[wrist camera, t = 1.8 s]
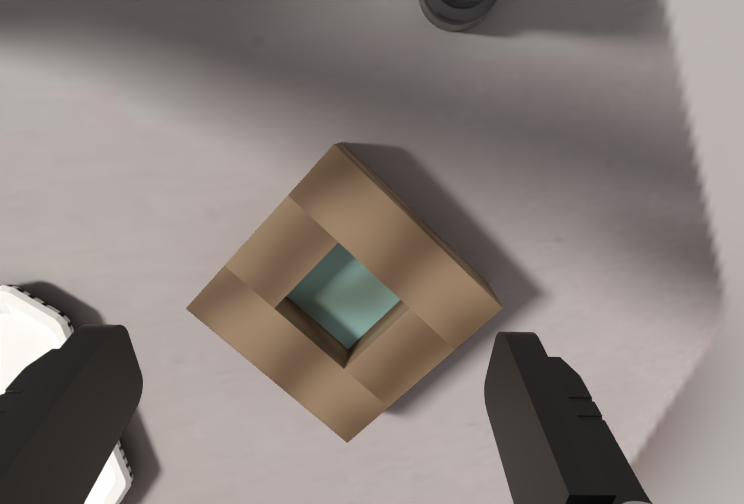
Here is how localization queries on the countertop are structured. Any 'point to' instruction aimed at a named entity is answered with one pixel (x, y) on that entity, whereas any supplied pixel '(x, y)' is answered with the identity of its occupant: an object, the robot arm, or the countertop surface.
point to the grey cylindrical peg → (455, 13)
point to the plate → (29, 342)
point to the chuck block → (345, 295)
